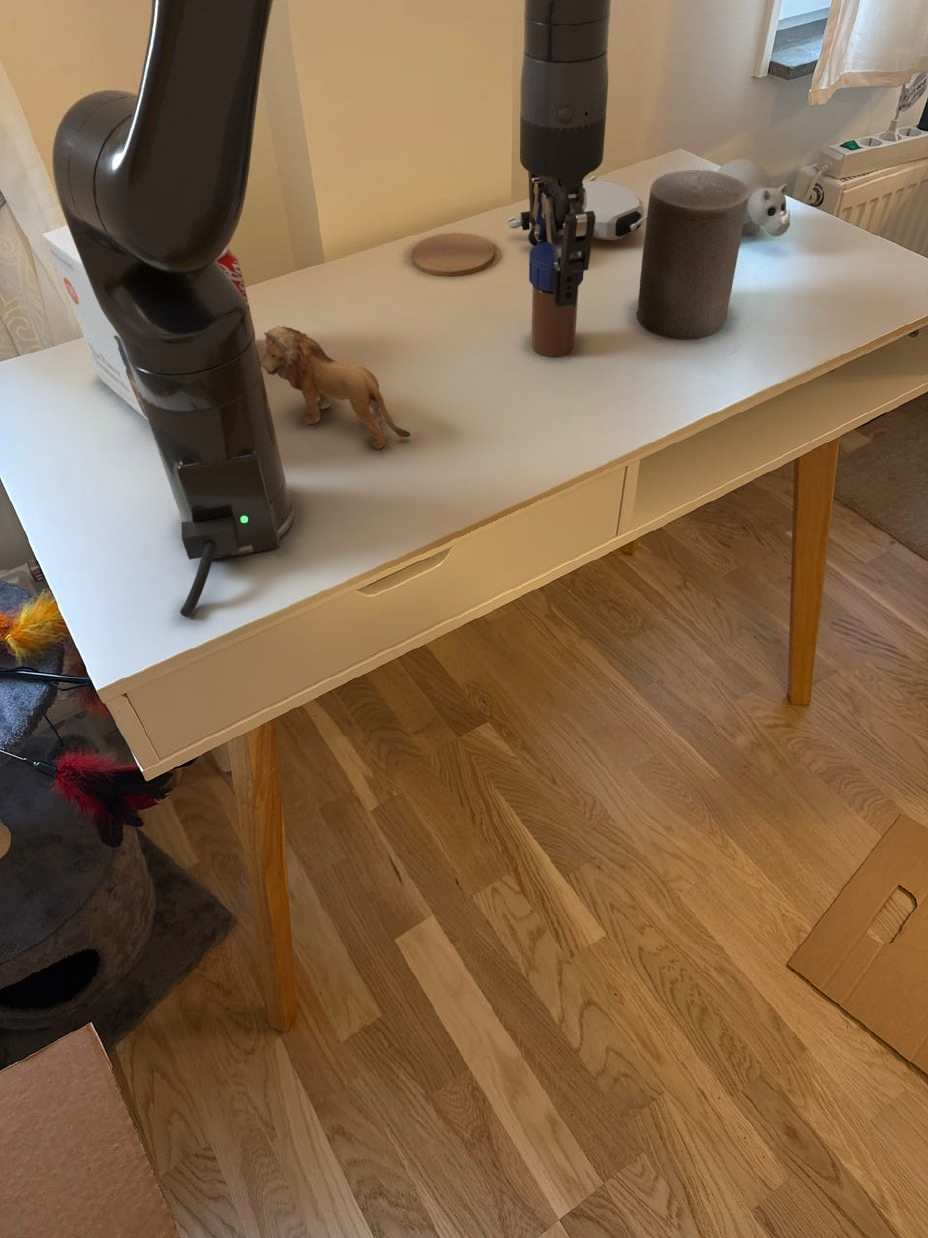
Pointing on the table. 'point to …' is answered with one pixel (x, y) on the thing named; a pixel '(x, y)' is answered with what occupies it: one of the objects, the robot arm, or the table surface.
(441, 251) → the coaster
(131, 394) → the skincare box
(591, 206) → the robot toy
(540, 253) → the lid
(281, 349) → the lion figurine
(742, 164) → the toy rhinoceros
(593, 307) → the table surface
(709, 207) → the pillar candle
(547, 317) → the jar
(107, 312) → the robot arm
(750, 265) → the table surface
